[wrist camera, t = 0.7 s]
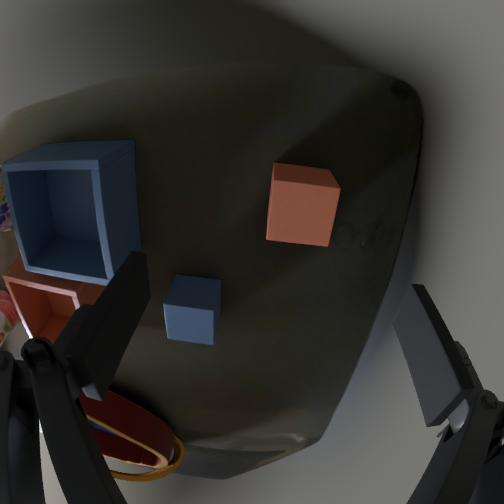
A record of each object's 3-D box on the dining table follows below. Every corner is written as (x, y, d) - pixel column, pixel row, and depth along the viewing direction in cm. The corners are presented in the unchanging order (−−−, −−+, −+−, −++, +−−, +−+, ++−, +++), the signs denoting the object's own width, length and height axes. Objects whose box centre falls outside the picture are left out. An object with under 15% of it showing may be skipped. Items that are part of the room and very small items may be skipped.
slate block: (175, 273, 33) (162, 303, 29) (221, 279, 33) (213, 310, 29) (178, 308, 36) (167, 338, 31) (220, 313, 36) (213, 345, 31)
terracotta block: (273, 162, 26) (273, 179, 22) (329, 169, 26) (341, 188, 22) (267, 214, 29) (266, 240, 24) (320, 220, 29) (328, 247, 24)
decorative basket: (35, 370, 53) (8, 421, 41) (64, 341, 38) (20, 422, 27) (149, 441, 65) (133, 490, 54) (224, 439, 51) (207, 508, 39)
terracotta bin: (32, 245, 33) (2, 274, 27) (103, 255, 32) (75, 291, 27) (54, 312, 39) (32, 344, 33) (120, 327, 38) (101, 365, 33)
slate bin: (42, 144, 26) (0, 164, 20) (134, 140, 26) (98, 159, 20) (57, 239, 32) (25, 270, 26) (141, 248, 32) (116, 287, 26)
